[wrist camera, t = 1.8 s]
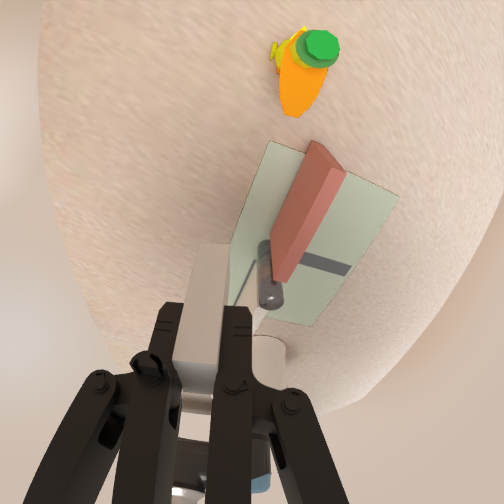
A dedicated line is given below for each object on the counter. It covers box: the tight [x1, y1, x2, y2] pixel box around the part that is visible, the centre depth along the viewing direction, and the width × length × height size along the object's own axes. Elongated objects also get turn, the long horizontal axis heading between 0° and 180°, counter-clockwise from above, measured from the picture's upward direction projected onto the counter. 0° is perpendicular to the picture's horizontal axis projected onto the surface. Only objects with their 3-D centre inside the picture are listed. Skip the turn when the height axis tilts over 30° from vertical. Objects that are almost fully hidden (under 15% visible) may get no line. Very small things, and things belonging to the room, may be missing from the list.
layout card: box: [227, 141, 400, 326], centre depth 31 cm, size 22×15×1 cm
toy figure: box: [270, 26, 340, 118], centre depth 14 cm, size 7×4×12 cm, turn 168°
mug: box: [211, 335, 287, 399], centre depth 38 cm, size 12×8×12 cm
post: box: [258, 239, 284, 311], centre depth 27 cm, size 2×2×8 cm
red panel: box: [270, 141, 347, 283], centre depth 23 cm, size 10×1×7 cm, turn 161°
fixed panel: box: [235, 260, 268, 336], centre depth 31 cm, size 9×1×7 cm, turn 160°
